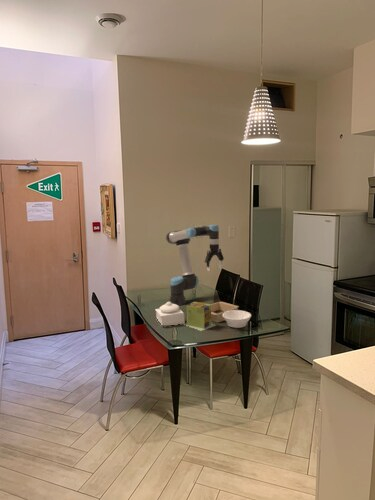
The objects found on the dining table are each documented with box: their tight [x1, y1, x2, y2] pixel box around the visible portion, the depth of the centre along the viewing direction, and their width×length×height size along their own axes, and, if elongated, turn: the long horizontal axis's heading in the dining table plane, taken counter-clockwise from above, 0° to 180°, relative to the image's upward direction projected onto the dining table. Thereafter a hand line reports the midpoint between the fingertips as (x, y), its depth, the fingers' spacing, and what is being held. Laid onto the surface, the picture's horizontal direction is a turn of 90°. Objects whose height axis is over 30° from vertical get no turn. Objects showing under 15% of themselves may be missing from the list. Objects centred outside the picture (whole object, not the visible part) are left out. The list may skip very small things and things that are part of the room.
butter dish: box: [154, 301, 186, 326], centre depth 286 cm, size 18×18×16 cm
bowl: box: [223, 309, 252, 329], centre depth 277 cm, size 21×21×8 cm
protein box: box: [186, 301, 212, 328], centre depth 278 cm, size 10×15×16 cm
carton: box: [211, 301, 240, 323], centre depth 298 cm, size 21×28×6 cm
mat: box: [182, 322, 217, 332], centre depth 279 cm, size 19×16×1 cm
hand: (214, 269), depth 307 cm, fingers open, 13 cm apart
